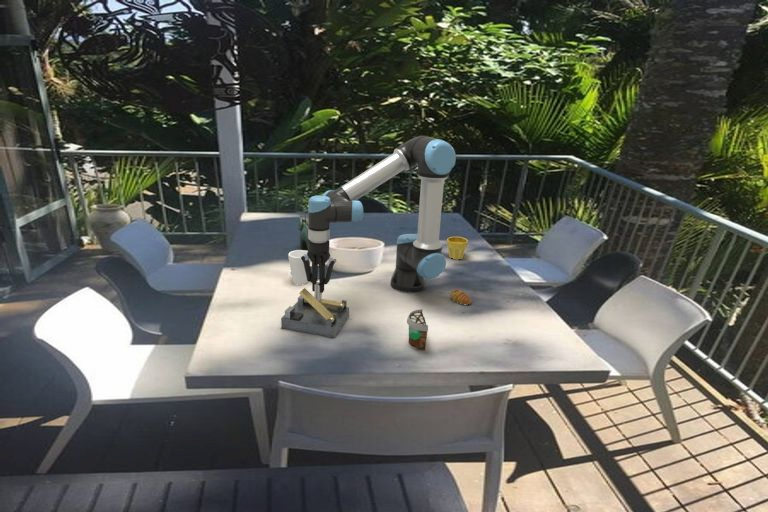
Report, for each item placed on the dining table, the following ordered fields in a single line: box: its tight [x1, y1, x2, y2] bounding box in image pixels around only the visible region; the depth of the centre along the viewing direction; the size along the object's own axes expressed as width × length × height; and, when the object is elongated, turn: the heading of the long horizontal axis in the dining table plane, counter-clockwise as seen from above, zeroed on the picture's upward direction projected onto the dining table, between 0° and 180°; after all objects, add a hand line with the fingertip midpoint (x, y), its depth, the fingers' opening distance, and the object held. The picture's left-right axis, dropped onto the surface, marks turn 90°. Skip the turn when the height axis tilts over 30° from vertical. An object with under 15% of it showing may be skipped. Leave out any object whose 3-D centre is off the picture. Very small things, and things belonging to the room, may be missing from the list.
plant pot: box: [446, 236, 469, 260], centre depth 245 cm, size 10×10×10 cm
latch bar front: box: [298, 287, 335, 322], centre depth 168 cm, size 15×3×2 cm
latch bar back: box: [304, 298, 346, 308], centre depth 180 cm, size 15×3×2 cm, turn 75°
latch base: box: [280, 294, 350, 339], centre depth 176 cm, size 20×17×7 cm
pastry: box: [449, 288, 472, 306], centre depth 199 cm, size 9×7×4 cm
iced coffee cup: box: [406, 309, 429, 351], centre depth 166 cm, size 12×6×10 cm, turn 5°
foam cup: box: [288, 249, 311, 286], centre depth 207 cm, size 10×9×13 cm
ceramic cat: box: [297, 213, 309, 251], centre depth 238 cm, size 20×6×20 cm, turn 23°
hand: (318, 299), depth 180 cm, fingers closed
